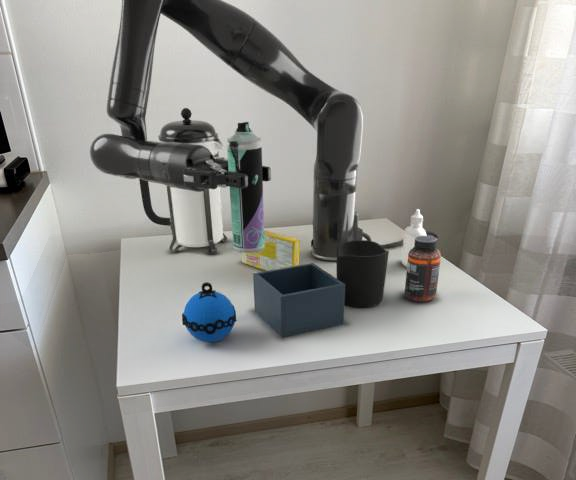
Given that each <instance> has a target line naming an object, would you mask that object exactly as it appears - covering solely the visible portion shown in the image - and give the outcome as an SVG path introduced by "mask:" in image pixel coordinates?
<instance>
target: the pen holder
mask: <svg viewBox="0 0 576 480" xmlns="http://www.w3.org/2000/svg"><path fill="white" fill-rule="evenodd" d="M381 245H382V244H379V243H378V242H377V241H373V240H371V241H367V239H365V240H363V239H362V240H355V241H347V242H344V243H341V244H339V245H338V246H337V250H336V261H335V262H336V266H335V267H336V268H335V269H336V279H338V280H339V281H341V282H342V283H344V284H345V304H344V306H346V307H349V308H354V309H367V308H373V307H376V306H378V305H379V304H380V303H382V301H383V298H384V293H385V285H386V276H387V269H388V263H389V254H390V253H389V252H390V251H389V250H386V248H383V247H382V246H381Z"/></svg>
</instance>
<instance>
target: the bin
mask: <svg viewBox="0 0 576 480" xmlns="http://www.w3.org/2000/svg"><path fill="white" fill-rule="evenodd" d="M252 280H253V281H252V282H253V303H254V304H253V305H254V307H253V308H254V312H255V313H256V314H257V315H258V316H259V317H260V318H261V319H262V320H263V321H264V322H265V323H266V324H267V325H268V326H269V327H270V328H271V329H272V330H273V331H274V332H275V333H276V334H277V335H278V336H279V337H280V338H282V339H283V338H286V337H291V336H295V335H300V334H306V333H310V332H313V331H318V330H323V329H328V328H331V327H332V328H333V327H336V326H340V325H341V326H342V325H344V324H345V323H344V322H345V305H344V304H345V284H344V283H342V282H341V281H339V280H338V279H337V277H335V276H333V275H332V274H330V273H329V272H328V271H326V270H325V269H322V267H320V266H318V265H317V264H315V263H314V262H309V263H304V264H299V265H298V266H292V267H287V268H281V269H275V270H269V271H265V270H263V271H258V272H253V273H252Z"/></svg>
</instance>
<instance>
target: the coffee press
mask: <svg viewBox="0 0 576 480" xmlns="http://www.w3.org/2000/svg"><path fill="white" fill-rule="evenodd" d="M192 114H193V113H192V110H190V109H189V107H188V108H187V107H184V108H182V109H181V111H180V116H181V118H182V120H175V121H170V122H167V123H166V124H164V125H163V126H162V127H161V129H160V132H159V134H158V142H164V143H167V142H177V143H185V144H193V145H201V146H204V147H206V148H207V149H208V150H209V151H210V152H211V153H212V155H213V157H220V155H219V154H220V153H219V151H218V150H224V149H225V146H224V144H223V142H222V141H221V139H220V138H219V133H218V132H216V129H215V127H214V126H213V125H212V124H211V123H209V122H207V121H204V120H194V119H192V120H191V117H192ZM138 180H139V181H138V182H139V188H140V194H141V202H142V206H143V211H144V213H145V215H146V217H147V218H148V220H150V221H151V222H152V223H154V224H156V225H160V226H167V227H170V231H171V236H172V240H171V243H170V244H169V247H168V250H169V251H170V252H171V253H173V254H176V253H177V252H178V251H179V249H181V248H182V247H185V248H186V247H187V248H203V247H205V248H206V250H207V252H208V254H209V255H214V254H217V247H216V244H217V243H219V242H222V243H225V242H227V241H228V237H227V236H226V235H225V233H224V226H223V211H222V210H223V209H222V198H221V187H217V188H216V189H208V188H207V189H206V190H204V191H202V192H196V191H190V190H185V189H179V188H173V187H169V186H166V185H165V187H166V195H167V205H168V210H169V211H168V212H169V217H163V216H159V215H157V214H156V213H155V211H154V209H153V205H152V199H151V193H150V192H151V191H150V184H149V181H145V180H142V179H139V178H138ZM175 244H177V245H176V246H175ZM174 246H175V248H174ZM173 248H174V249H173Z"/></svg>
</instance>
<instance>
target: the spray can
mask: <svg viewBox="0 0 576 480" xmlns="http://www.w3.org/2000/svg"><path fill="white" fill-rule="evenodd" d="M226 140H227V144H226V151H227V159H228V169H229V171H232V172H239V173H246V174H247V176H248V187H247V188H244V189H242V188H236V187H230V186H229V197H230V198H229V201H230V213H231V214H230V216H231V218H230V219H231V233H232V234H231V235H232V248H233V251H235V252H238V253H241V254H242V253H253V252H258V251H261V250H263V249H264V248H265V246H264V245H265V241H264V230H265V214H264V213H265V212H264V181H263V175H262V166H263V147H262V142H261V141H262V138H261V137H259V136H258V135H256V134H254V132H253V130H252V129H251V128H250V123H249V121H244V122H237V128H235V130H234V134H232V135H231V136H230V137H228V138H227V139H226Z"/></svg>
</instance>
